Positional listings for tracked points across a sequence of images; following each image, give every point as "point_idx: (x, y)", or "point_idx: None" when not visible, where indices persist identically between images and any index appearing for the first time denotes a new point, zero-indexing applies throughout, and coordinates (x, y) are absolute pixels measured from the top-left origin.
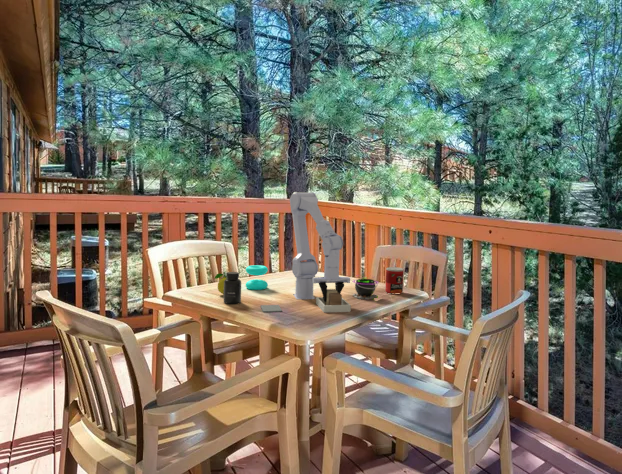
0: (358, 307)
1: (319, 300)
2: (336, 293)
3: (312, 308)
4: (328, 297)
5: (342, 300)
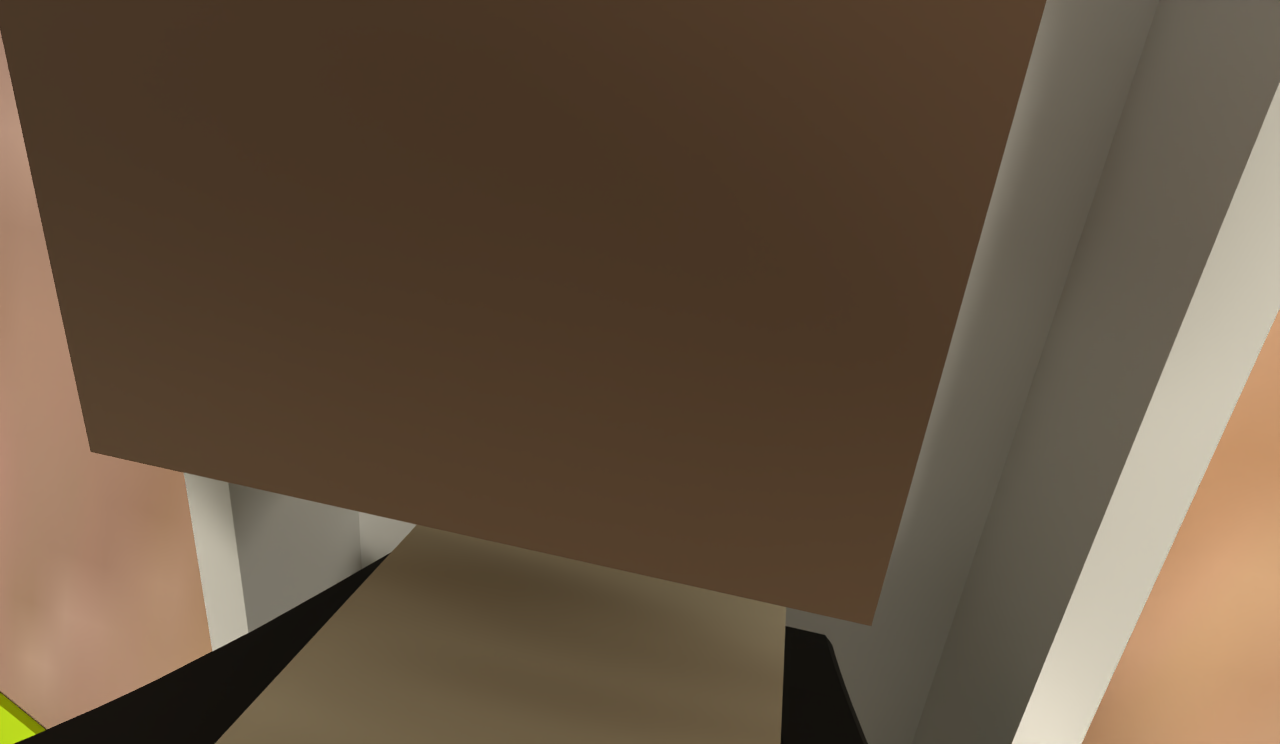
0: (41, 309)
1: (1091, 678)
2: (296, 248)
3: (1230, 549)
4: (722, 664)
5: (265, 542)
